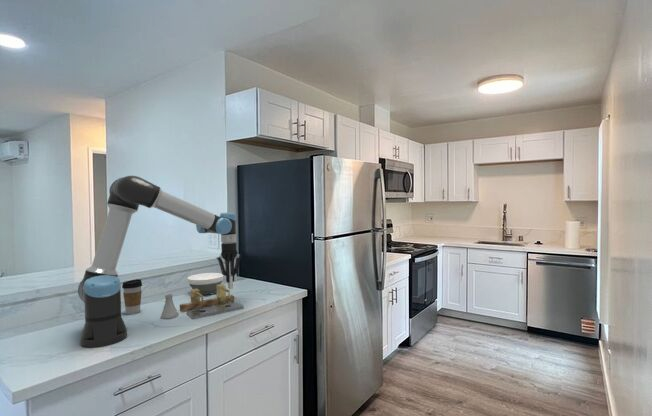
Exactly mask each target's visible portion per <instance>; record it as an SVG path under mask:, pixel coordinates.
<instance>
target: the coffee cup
mask: <svg viewBox="0 0 652 416" xmlns="http://www.w3.org/2000/svg"><path fill="white" fill-rule="evenodd" d="M142 286H143V281H142V279H139V278H138V279H137V278H136V279H131V280H128V281H127V280H126V281H124V282H122V284H121V288H122V289H123V294H122V295H123V300H124V301H123V302H124V307H125V314H127V315H135V314H139V313H140V312H141V303H142V302H141V301H142V291H143V290H142Z"/></svg>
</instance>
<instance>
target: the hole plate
mask: <svg viewBox="0 0 652 416" xmlns="http://www.w3.org/2000/svg"><path fill="white" fill-rule="evenodd" d="M244 306H245V305H243V304H241V303H239V302H237V301H234V302H231V303H226V304H221V305H216V306H211V307H206V308H200V309H195V310H190V311H186V315H187V316H188V317H189V318H190V319H191V320H196V319H198V318H203V317H209V316H213V315H218V314H223V313H229V312H234V311H237V310H242V309H244Z"/></svg>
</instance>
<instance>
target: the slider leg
mask: <svg viewBox="0 0 652 416" xmlns="http://www.w3.org/2000/svg"><path fill="white" fill-rule="evenodd" d="M216 289H217V291H216V298H220V304H221V305H223V304H224V303H226V296H228V298H229V300H230V295H231V290H230V289H228V288H227V285H225V284H224V283H221V284H219V285H216ZM226 304H227V303H226Z"/></svg>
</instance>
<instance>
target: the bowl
mask: <svg viewBox="0 0 652 416" xmlns="http://www.w3.org/2000/svg"><path fill="white" fill-rule="evenodd" d="M223 280H224V275H222V272H221V273H220V272H203V273H198V274H197V273H196V274H192V275H190V276H188V277H187V283H188V285H189V286H190V287H191V289H198V290H200V294H201V295H203V296H207V295H208V294H209V295H213V294H215V293H217V289H216V285H219V284H223V283H222V282H223Z"/></svg>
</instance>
